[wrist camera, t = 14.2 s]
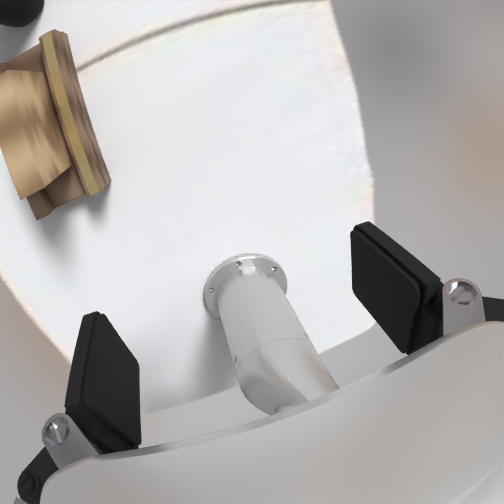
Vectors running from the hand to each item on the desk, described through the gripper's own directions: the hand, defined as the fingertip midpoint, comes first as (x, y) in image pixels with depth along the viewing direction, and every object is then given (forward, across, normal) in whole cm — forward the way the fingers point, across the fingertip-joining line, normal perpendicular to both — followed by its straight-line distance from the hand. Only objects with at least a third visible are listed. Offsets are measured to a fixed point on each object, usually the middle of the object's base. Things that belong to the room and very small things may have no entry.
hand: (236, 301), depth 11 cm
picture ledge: (+28, +15, -10) cm, 34 cm away
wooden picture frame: (+26, +15, -10) cm, 32 cm away
